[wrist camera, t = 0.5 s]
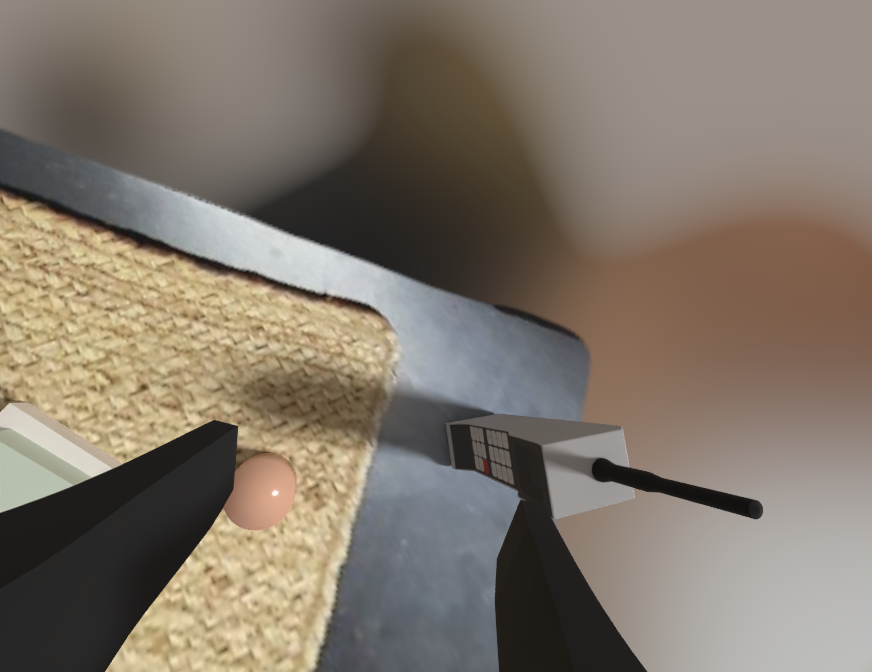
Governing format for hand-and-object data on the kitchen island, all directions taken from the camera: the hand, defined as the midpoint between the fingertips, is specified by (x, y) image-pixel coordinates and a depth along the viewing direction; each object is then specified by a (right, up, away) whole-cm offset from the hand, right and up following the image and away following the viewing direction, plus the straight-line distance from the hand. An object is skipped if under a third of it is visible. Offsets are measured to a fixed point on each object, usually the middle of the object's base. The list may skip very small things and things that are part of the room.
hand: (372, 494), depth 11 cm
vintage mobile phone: (+5, -5, +27) cm, 28 cm away
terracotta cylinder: (-11, -7, +22) cm, 26 cm away
